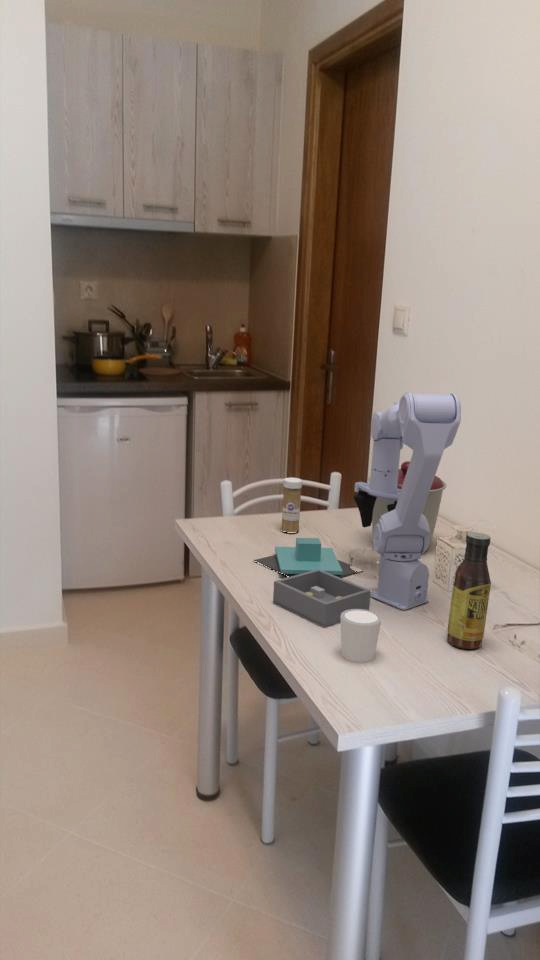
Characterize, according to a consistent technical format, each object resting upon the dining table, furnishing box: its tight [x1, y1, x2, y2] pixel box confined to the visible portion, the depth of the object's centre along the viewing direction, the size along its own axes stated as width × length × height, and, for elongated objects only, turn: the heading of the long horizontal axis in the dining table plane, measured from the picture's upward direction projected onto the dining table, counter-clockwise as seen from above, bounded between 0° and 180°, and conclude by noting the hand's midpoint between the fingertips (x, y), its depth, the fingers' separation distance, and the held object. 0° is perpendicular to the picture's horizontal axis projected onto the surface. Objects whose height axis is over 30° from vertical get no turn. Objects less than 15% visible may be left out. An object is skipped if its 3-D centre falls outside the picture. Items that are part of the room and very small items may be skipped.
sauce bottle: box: [446, 531, 492, 650], centre depth 139 cm, size 6×6×20 cm
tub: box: [272, 569, 372, 629], centre depth 154 cm, size 14×12×4 cm
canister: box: [367, 460, 447, 549], centre depth 190 cm, size 18×18×21 cm
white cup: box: [340, 609, 383, 664], centre depth 134 cm, size 7×7×7 cm
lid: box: [274, 537, 343, 575], centre depth 175 cm, size 15×13×6 cm
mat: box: [253, 554, 357, 579], centre depth 176 cm, size 18×16×1 cm
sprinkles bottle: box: [280, 477, 303, 532], centre depth 199 cm, size 5×5×13 cm
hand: (379, 531), depth 172 cm, fingers open, 7 cm apart
